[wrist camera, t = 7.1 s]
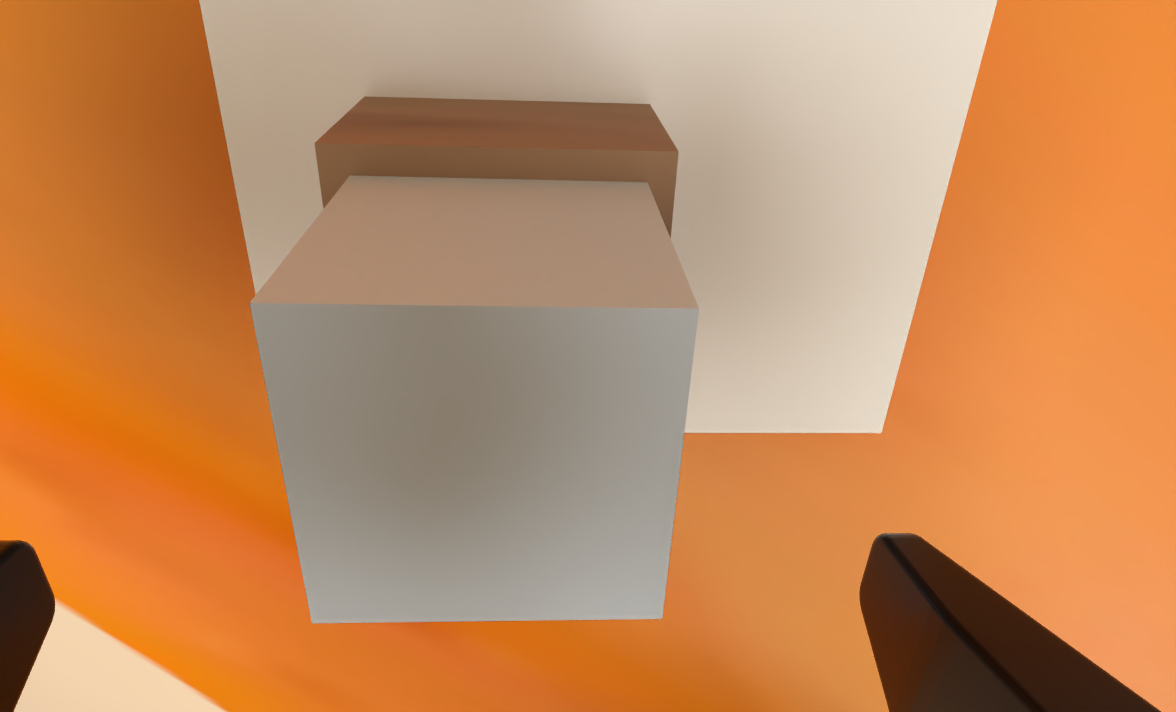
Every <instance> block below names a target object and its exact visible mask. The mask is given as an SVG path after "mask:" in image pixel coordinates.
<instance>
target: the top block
mask: <svg viewBox="0 0 1176 712" xmlns="http://www.w3.org/2000/svg"><path fill="white" fill-rule="evenodd" d="M250 308H251V313H252V318H253V323H254V328H255V333H256V339H257V344H258V349H259V354H260V359H261V364H262V369H263V375H264V380H265V385H266V390H267V395H268V400H269V405H270V410H271V416H272V421H273V426H274V431H275V436H276V441H277V446H278V452H279V457H280V462H281V467H282V472H283V477H284V482H285V487H286V493H287V498H288V503H289V508H290V513H291V518H292V523H293V529H294V534H295V539H296V544H297V549H298V554H299V559H300V565H301V570H302V575H303V580H304V585H305V590H306V595H307V600H308V606H309V611H310V616H311V621H312V623H376V622H454V621H532V620H609V619H662V616H663V607H664V599H665V591H666V582H667V574H668V566H669V557H670V549H671V540H672V532H673V524H674V515H675V507H676V499H677V490H678V482H679V473H680V465H681V457H682V448H683V440H684V432H685V423H686V415H687V406H688V398H689V390H690V381H691V373H692V365H693V356H694V348H695V339H696V331H697V323H698V314H699V307H698V305H697V302H696V300H695V297H694V295H693V292H692V290H691V287H690V285H689V283H688V280H687V278H686V275H685V273H684V270H683V268H682V265H681V263H680V261H679V258H678V256H677V253H676V251H675V248H674V246H673V243H672V241H671V238H670V236H669V234H668V231H667V229H666V226H665V224H664V221H663V219H662V216H661V214H660V212H659V209H658V207H657V204H656V202H655V199H654V197H653V194H652V192H651V189H650V187H649V185H648V182H616V181H572V180H528V179H484V178H440V177H396V176H352V175H350V176H349V177H348V179H347V180H346V181H345V182H344V184H343V185H342V186H341V188H340V189H339V190H338V191H337V193H336V194H335V195H334V196H333V198H332V199H331V200H330V202H329V203H328V204H327V205H326V207H325V208H324V209H323V210H322V212H321V213H320V214H319V216H318V217H317V218H316V219H315V221H314V222H313V223H312V224H311V226H310V227H309V228H308V229H307V231H306V232H305V233H304V235H303V236H302V237H301V238H300V240H299V241H298V242H297V243H296V245H295V246H294V247H293V249H292V250H291V251H290V252H289V254H288V255H287V256H286V257H285V259H284V260H283V261H282V263H281V264H280V265H279V266H278V268H277V269H276V270H275V271H274V273H273V274H272V275H271V277H270V278H269V279H268V280H267V282H266V283H265V284H264V285H263V287H262V288H261V289H260V290H259V292H258V293H257V294H256V296H255V297H254V298H253V299H252V301H251V302H250Z"/></svg>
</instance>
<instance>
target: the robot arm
mask: <svg viewBox="0 0 1176 712" xmlns="http://www.w3.org/2000/svg"><path fill="white" fill-rule="evenodd" d="M860 605H861V610H862V614H863V617H864V621H865V625H866V628H867V632H868V635H869V639H870V643H871V646H872V650H873V654H874V657H875V661H876V664H877V668H878V672H879V675H880V679H881V683H882V686H883V690H884V693H885V697H886V701H887V704H888V708H889V712H1161V711H1160V710H1158V709H1157V708H1156V707H1154V706H1153V705H1151V704H1150V703H1149V702H1147V701H1146V700H1144V699H1143V698H1142V697H1140V696H1139V695H1138V694H1136V693H1135V692H1133V691H1132V690H1131V689H1129V688H1128V687H1127V686H1125V685H1124V684H1122V683H1121V682H1120V681H1118V680H1117V679H1116V678H1114V677H1113V676H1111V675H1110V674H1109V673H1107V672H1106V671H1105V670H1103V669H1102V668H1100V667H1099V666H1098V665H1096V664H1095V663H1093V662H1092V661H1091V660H1089V659H1088V658H1087V657H1085V656H1084V655H1082V654H1081V653H1080V652H1078V651H1077V650H1076V649H1074V648H1073V647H1071V646H1070V645H1069V644H1067V643H1066V642H1065V641H1063V640H1062V639H1060V638H1059V637H1058V636H1056V635H1055V634H1054V633H1052V632H1051V631H1049V630H1048V629H1047V628H1045V627H1044V626H1042V625H1041V624H1040V623H1038V622H1037V621H1036V620H1034V619H1033V618H1031V617H1030V616H1029V615H1027V614H1026V613H1025V612H1023V611H1022V610H1020V609H1019V608H1018V607H1016V606H1015V605H1014V604H1012V603H1011V602H1009V601H1008V600H1007V599H1005V598H1004V597H1002V596H1001V595H1000V594H998V593H997V592H996V591H994V590H993V589H991V588H990V587H989V586H987V585H986V584H985V583H983V582H982V581H980V580H979V579H978V578H976V577H975V576H974V575H972V574H971V573H969V572H968V571H967V570H965V569H964V568H963V567H961V566H960V565H958V564H957V563H956V562H954V561H953V560H951V559H950V558H949V557H947V556H946V555H945V554H943V553H942V552H940V551H939V550H938V549H936V548H935V547H934V546H932V545H931V544H929V543H928V542H927V541H925V540H924V539H923V538H921V537H919V536H918V535H915V534H911V533H884V534H881V535H878V536H877V537H876V538H875V540H874V542H873V544H872V547H871V551H870V554H869V558H868V561H867V565H866V568H865V571H864V575H863V578H862V582H861V586H860ZM54 612H55V599H54V594H53V592H52V589H51V587H50V584H49V582H48V580H47V577H46V575H45V573H44V570H43V568H42V566H41V563H40V561H39V558H38V556H37V554H36V551H35V550H34V548H33V547H32V546H31V545H30V544H29V543H27V542H24V541H19V540H11V541H0V712H14V709H15V707H16V704H17V702H18V700H19V698H20V695H21V693H22V690H23V688H24V686H25V683H26V681H27V679H28V676H29V674H30V672H31V669H32V667H33V665H34V662H35V660H36V658H37V655H38V653H39V651H40V648H41V646H42V644H43V641H44V639H45V637H46V634H47V632H48V630H49V627H50V625H51V623H52V620H53V616H54Z"/></svg>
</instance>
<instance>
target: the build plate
mask: <svg viewBox="0 0 1176 712" xmlns="http://www.w3.org/2000/svg"><path fill="white" fill-rule="evenodd" d="M199 2H200V7H201V13H202V18H203V23H204V28H205V33H206V39H207V44H208V49H209V54H210V59H211V65H212V70H213V75H214V80H215V86H216V91H217V96H218V101H219V106H220V112H221V117H222V122H223V127H224V132H225V138H226V143H227V148H228V153H229V158H230V164H231V169H232V174H233V179H234V185H235V190H236V195H237V200H238V205H239V211H240V216H241V221H242V226H243V231H244V237H245V242H246V247H247V252H248V258H249V263H250V268H251V273H252V278H253V284H254V289H255V294H257V293H258V292H259V290H260V289H261V288H262V287H263V285H264V284H265V283H266V282H267V280H268V279H269V278H270V277H271V275H272V274H273V273H274V271H275V270H276V269H277V268H278V266H279V265H280V264H281V263H282V261H283V260H284V259H285V257H286V256H287V255H288V254H289V252H290V251H291V250H292V249H293V247H294V246H295V245H296V243H297V242H298V241H299V240H300V238H301V237H302V236H303V235H304V233H305V232H306V231H307V229H308V228H309V227H310V226H311V224H312V223H313V222H314V221H315V219H316V218H317V217H318V216H319V214H320V213H321V212H322V210H323V202H322V195H321V188H320V180H319V173H318V166H317V158H316V151H315V144H314V143H315V142H316V141H317V140H318V139H319V138H320V137H322V136H323V135H324V134H325V133H326V132H327V131H328V130H329V129H330V128H331V127H332V126H333V125H334V124H335V123H337V122H338V121H339V120H340V119H341V118H342V117H343V116H344V115H345V114H346V113H347V112H348V111H349V110H350V109H352V108H353V107H354V106H355V105H356V104H357V103H358V102H359V101H360V100H361V99H362V98H363V97H364V96H368V97H405V98H443V99H480V100H517V101H554V102H592V103H629V104H650V105H651V107H652V108H653V110H654V112H655V113H656V115H657V116H658V118H659V120H660V121H661V123H662V125H663V126H664V128H665V130H666V131H667V133H668V135H669V136H670V138H671V140H672V141H673V143H674V145H675V146H676V148H677V150H678V151H679V154H678V165H677V175H676V186H675V197H674V208H673V219H672V229H671V241H672V243H673V246H674V248H675V251H676V253H677V256H678V258H679V261H680V263H681V265H682V268H683V270H684V273H685V275H686V278H687V280H688V283H689V285H690V287H691V290H692V292H693V295H694V297H695V300H696V302H697V305H698V307H699V314H698V323H697V331H696V339H695V348H694V356H693V365H692V373H691V381H690V390H689V398H688V406H687V415H686V423H685V432H684V433H882V429H883V425H884V422H885V418H886V414H887V410H888V407H889V403H890V399H891V395H892V392H893V388H894V384H895V381H896V377H897V373H898V369H899V366H900V362H901V358H902V354H903V351H904V347H905V343H906V339H907V336H908V332H909V328H910V325H911V321H912V317H913V313H914V310H915V306H916V302H917V298H918V295H919V291H920V287H921V284H922V280H923V276H924V272H925V269H926V265H927V261H928V257H929V254H930V250H931V246H932V242H933V239H934V235H935V231H936V228H937V224H938V220H939V216H940V213H941V209H942V205H943V201H944V198H945V194H946V190H947V187H948V183H949V179H950V175H951V172H952V168H953V164H954V160H955V157H956V153H957V149H958V146H959V142H960V138H961V134H962V131H963V127H964V123H965V119H966V116H967V112H968V108H969V104H970V101H971V97H972V93H973V90H974V86H975V82H976V78H977V75H978V71H979V67H980V63H981V60H982V56H983V52H984V49H985V45H986V41H987V37H988V34H989V30H990V26H991V22H992V19H993V15H994V11H995V7H996V4H997V0H199Z"/></svg>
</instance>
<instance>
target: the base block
mask: <svg viewBox="0 0 1176 712" xmlns="http://www.w3.org/2000/svg"><path fill="white" fill-rule="evenodd" d="M314 144H315V151H316V158H317V166H318V173H319V180H320V188H321V195H322V202H323V209H324V208H325V207H326V205H327V204H328V203H329V202H330V200H331V199H332V198H333V196H334V195H335V194H336V193H337V191H338V190H339V189H340V188H341V186H342V185H343V184H344V182H345V181H346V180H347V179H348V177H349V176H350V175H352V176H396V177H440V178H484V179H528V180H572V181H616V182H648V185H649V187H650V189H651V192H652V194H653V197H654V199H655V202H656V204H657V207H658V209H659V212H660V214H661V216H662V219H663V221H664V224H665V226H666V229H667V231H668V234H669V236H670V238H671V229H672V219H673V208H674V197H675V186H676V175H677V165H678V154H679V151H678V150H677V148H676V146H675V145H674V143H673V141H672V140H671V138H670V136H669V135H668V133H667V131H666V130H665V128H664V126H663V125H662V123H661V121H660V120H659V118H658V116H657V115H656V113H655V112H654V110H653V108H652V107H651V105H650V104H629V103H592V102H554V101H517V100H480V99H443V98H405V97H368V96H364V97H363V98H362V99H361V100H360V101H359V102H358V103H357V104H356V105H355V106H354V107H353V108H352V109H350V110H349V111H348V112H347V113H346V114H345V115H344V116H343V117H342V118H341V119H340V120H339V121H338V122H337V123H335V124H334V125H333V126H332V127H331V128H330V129H329V130H328V131H327V132H326V133H325V134H324V135H323V136H322V137H320V138H319V139H318V140H317V141H316V142H315V143H314Z"/></svg>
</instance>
